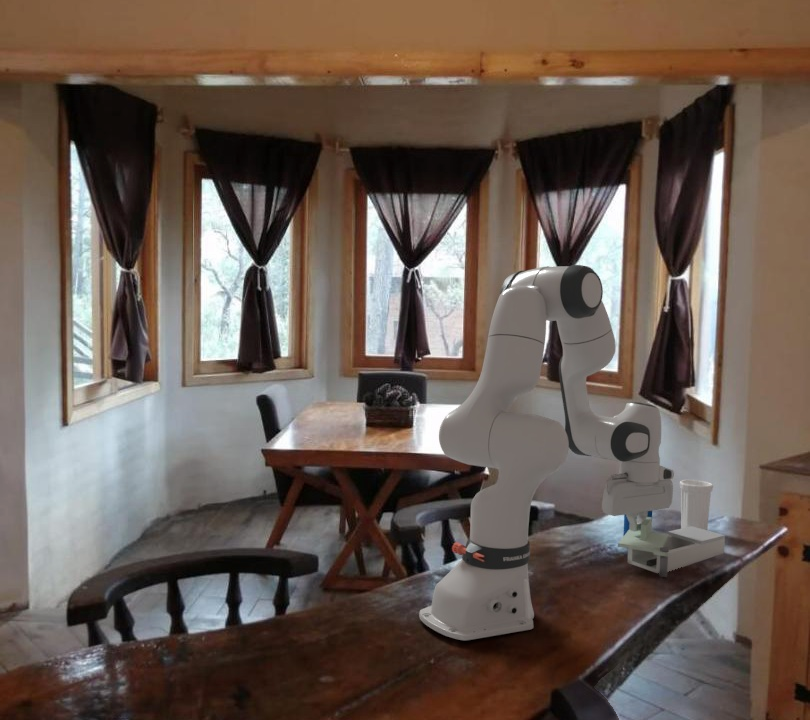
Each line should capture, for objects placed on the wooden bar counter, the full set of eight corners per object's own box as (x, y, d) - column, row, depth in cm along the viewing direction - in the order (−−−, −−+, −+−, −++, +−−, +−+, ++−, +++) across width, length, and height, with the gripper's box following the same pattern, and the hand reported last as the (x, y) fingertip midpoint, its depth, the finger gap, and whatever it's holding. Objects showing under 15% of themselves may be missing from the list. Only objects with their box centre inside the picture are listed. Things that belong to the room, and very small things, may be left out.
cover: (667, 556, 160) (668, 537, 160) (616, 548, 165) (617, 529, 165) (677, 538, 174) (678, 520, 174) (629, 531, 179) (630, 514, 179)
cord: (650, 566, 166) (650, 562, 166) (646, 565, 167) (646, 560, 167) (710, 550, 179) (710, 546, 179) (706, 549, 180) (707, 545, 180)
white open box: (664, 578, 161) (665, 554, 160) (623, 563, 170) (624, 541, 169) (730, 558, 175) (732, 537, 175) (690, 546, 184) (691, 526, 184)
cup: (687, 531, 198) (689, 478, 197) (716, 538, 192) (719, 483, 191) (671, 536, 193) (673, 481, 192) (700, 544, 186) (703, 487, 186)
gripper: (618, 477, 164) (615, 539, 165) (678, 471, 175) (675, 528, 176) (597, 472, 170) (594, 531, 170) (657, 466, 181) (654, 522, 181)
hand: (636, 530), depth 173 cm, fingers closed
